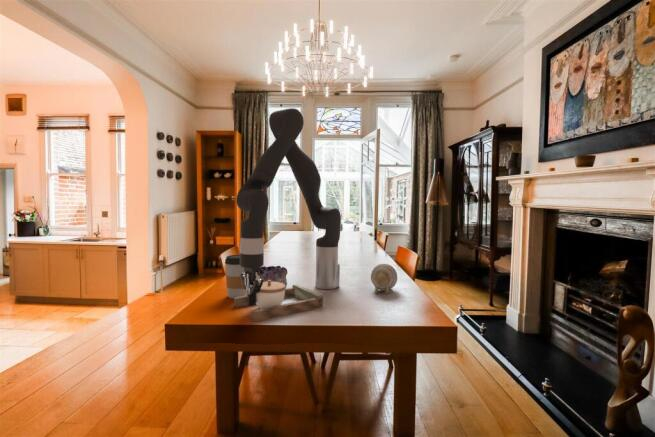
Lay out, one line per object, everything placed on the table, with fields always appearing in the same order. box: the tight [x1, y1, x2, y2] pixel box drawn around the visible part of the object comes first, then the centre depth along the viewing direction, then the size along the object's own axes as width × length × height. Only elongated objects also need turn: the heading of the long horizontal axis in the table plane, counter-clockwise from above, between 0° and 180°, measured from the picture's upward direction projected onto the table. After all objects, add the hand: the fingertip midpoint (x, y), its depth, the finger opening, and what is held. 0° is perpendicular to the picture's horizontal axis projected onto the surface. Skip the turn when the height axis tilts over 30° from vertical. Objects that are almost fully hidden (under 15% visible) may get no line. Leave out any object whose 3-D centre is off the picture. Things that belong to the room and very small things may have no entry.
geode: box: [259, 265, 288, 287], centre depth 139 cm, size 20×12×10 cm, turn 101°
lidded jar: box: [255, 280, 286, 309], centre depth 111 cm, size 11×11×9 cm
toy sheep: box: [370, 263, 398, 295], centre depth 134 cm, size 11×17×11 cm, turn 165°
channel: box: [233, 283, 324, 322], centre depth 113 cm, size 25×17×4 cm
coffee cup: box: [224, 254, 247, 299], centre depth 123 cm, size 8×8×15 cm
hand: (251, 304), depth 107 cm, fingers closed
